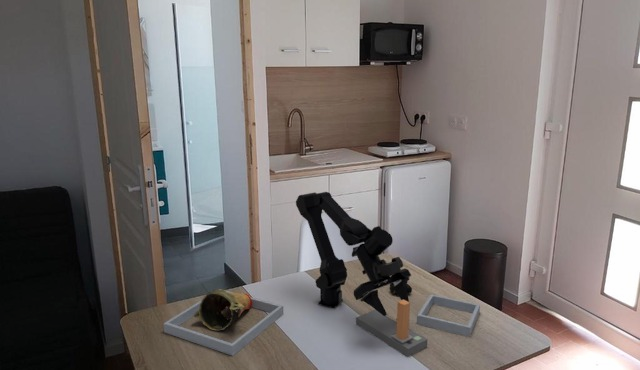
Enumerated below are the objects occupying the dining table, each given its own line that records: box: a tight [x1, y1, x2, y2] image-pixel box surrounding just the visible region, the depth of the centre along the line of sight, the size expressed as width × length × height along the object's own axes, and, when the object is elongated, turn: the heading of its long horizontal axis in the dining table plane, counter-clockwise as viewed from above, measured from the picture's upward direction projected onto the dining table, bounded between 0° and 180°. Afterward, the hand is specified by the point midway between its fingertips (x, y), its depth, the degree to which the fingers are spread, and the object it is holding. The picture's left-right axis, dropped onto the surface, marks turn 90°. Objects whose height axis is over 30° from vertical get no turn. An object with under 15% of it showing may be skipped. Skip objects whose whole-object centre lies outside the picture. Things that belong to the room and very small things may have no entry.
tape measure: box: [389, 283, 413, 296], centre depth 167 cm, size 7×7×4 cm
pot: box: [192, 289, 252, 331], centre depth 148 cm, size 18×12×19 cm
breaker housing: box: [355, 309, 429, 358], centre depth 140 cm, size 22×8×3 cm, turn 37°
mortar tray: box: [163, 288, 284, 357], centre depth 147 cm, size 26×26×3 cm
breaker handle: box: [391, 299, 414, 344], centre depth 132 cm, size 4×4×11 cm
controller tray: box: [416, 293, 481, 338], centre depth 149 cm, size 16×16×3 cm
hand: (397, 310), depth 134 cm, fingers open, 9 cm apart
